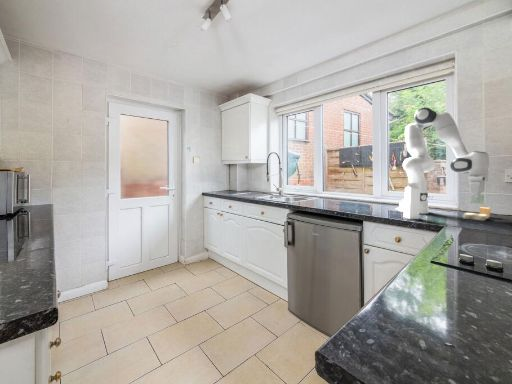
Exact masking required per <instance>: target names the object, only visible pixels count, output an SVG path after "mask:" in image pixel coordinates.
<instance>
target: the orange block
mask: <svg viewBox="0 0 512 384" xmlns="http://www.w3.org/2000/svg"><path fill="white" fill-rule="evenodd" d="M478 214H486V215H488V217H487V219H490V217H491V207H483V206H480V207H479V212H478Z"/></svg>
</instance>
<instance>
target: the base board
mask: <svg viewBox="0 0 512 384" xmlns="http://www.w3.org/2000/svg"><path fill="white" fill-rule="evenodd" d="M487 217H488V215H486V214H479V213H474V212H464V213H463V214H462V219H468V220H474V221H486V220H487V219H488V218H487Z"/></svg>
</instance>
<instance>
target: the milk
mask: <svg viewBox="0 0 512 384" xmlns="http://www.w3.org/2000/svg"><path fill="white" fill-rule="evenodd" d="M403 195H404V197H403V199H404V212H403V216H402V217H403V218H404V217H405V219H408V220H419V219H420V213H419V206H420V187H418V186H417V183H409V182H408V183H407V186H405V187H404V194H403Z"/></svg>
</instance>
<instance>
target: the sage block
mask: <svg viewBox="0 0 512 384" xmlns="http://www.w3.org/2000/svg"><path fill="white" fill-rule="evenodd" d="M484 197H485V195H484V194H481V195H478V201H474V196H473V194H471V196H470V203H471V204H484V202H485V201H484V200H485V199H484Z"/></svg>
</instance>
